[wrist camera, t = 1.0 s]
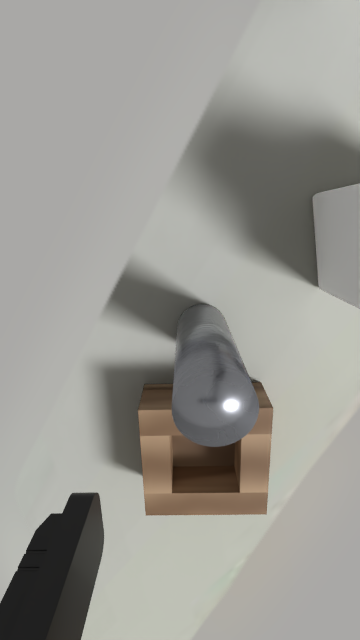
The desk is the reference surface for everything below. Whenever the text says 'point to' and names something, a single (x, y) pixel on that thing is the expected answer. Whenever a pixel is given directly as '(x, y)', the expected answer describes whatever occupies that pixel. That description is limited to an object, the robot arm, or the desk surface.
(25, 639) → the robot arm
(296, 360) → the desk surface
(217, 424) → the peg
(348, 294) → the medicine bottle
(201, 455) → the bore block
